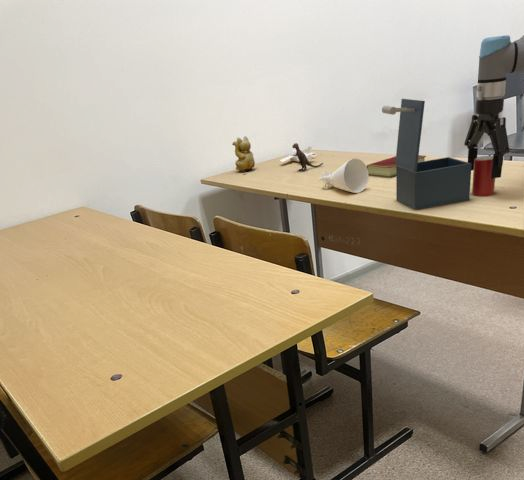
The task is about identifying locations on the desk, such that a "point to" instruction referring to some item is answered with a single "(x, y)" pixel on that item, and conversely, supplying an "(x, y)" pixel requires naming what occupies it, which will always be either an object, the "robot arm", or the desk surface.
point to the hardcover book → (386, 167)
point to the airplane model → (295, 158)
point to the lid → (408, 132)
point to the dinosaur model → (302, 158)
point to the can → (483, 176)
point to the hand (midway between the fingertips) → (483, 173)
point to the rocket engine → (348, 176)
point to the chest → (433, 183)
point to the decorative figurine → (243, 155)
